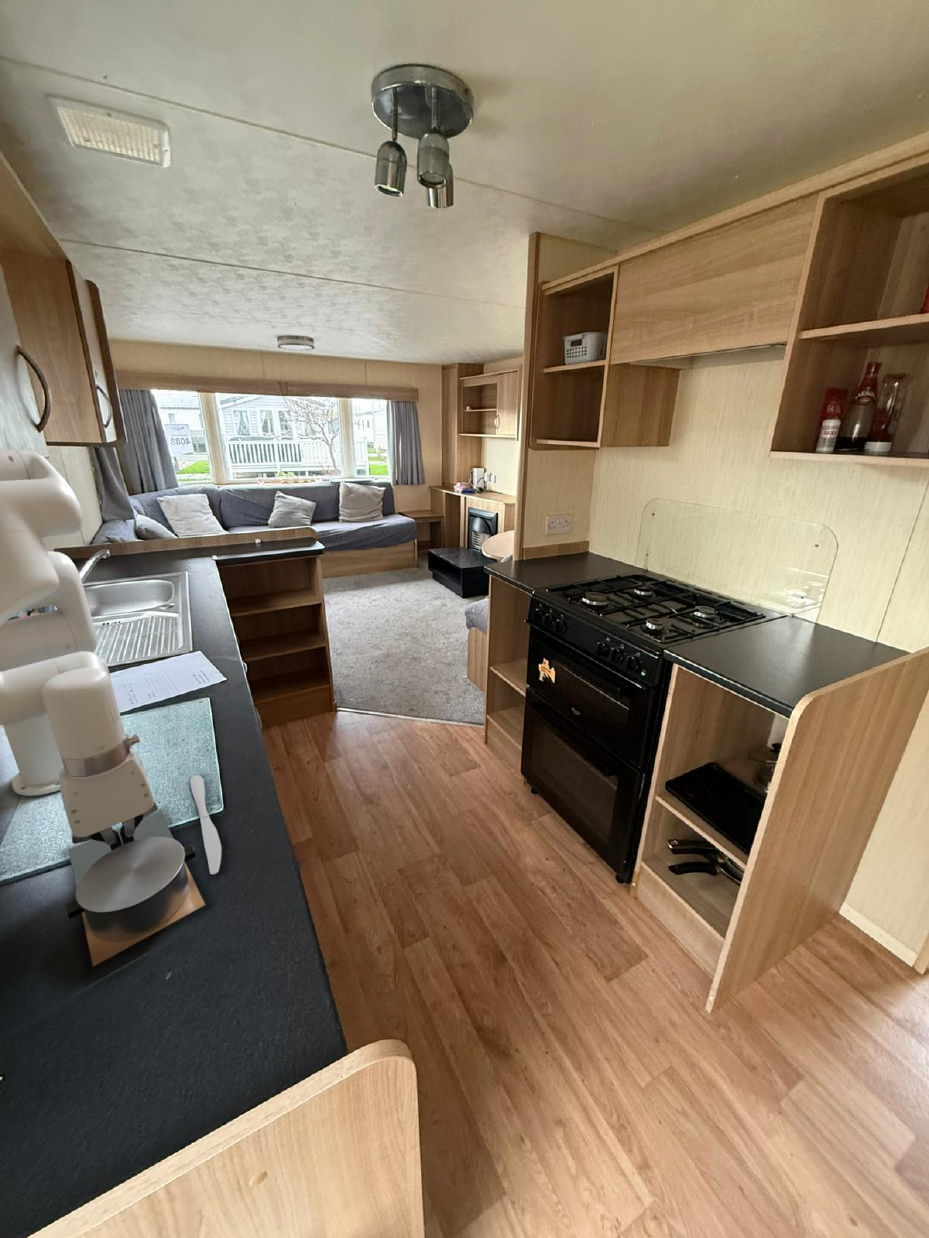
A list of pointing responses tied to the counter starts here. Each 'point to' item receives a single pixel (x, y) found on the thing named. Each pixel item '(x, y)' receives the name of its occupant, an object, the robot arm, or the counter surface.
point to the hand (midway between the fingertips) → (125, 855)
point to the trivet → (108, 949)
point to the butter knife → (207, 826)
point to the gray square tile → (94, 850)
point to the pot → (133, 888)
